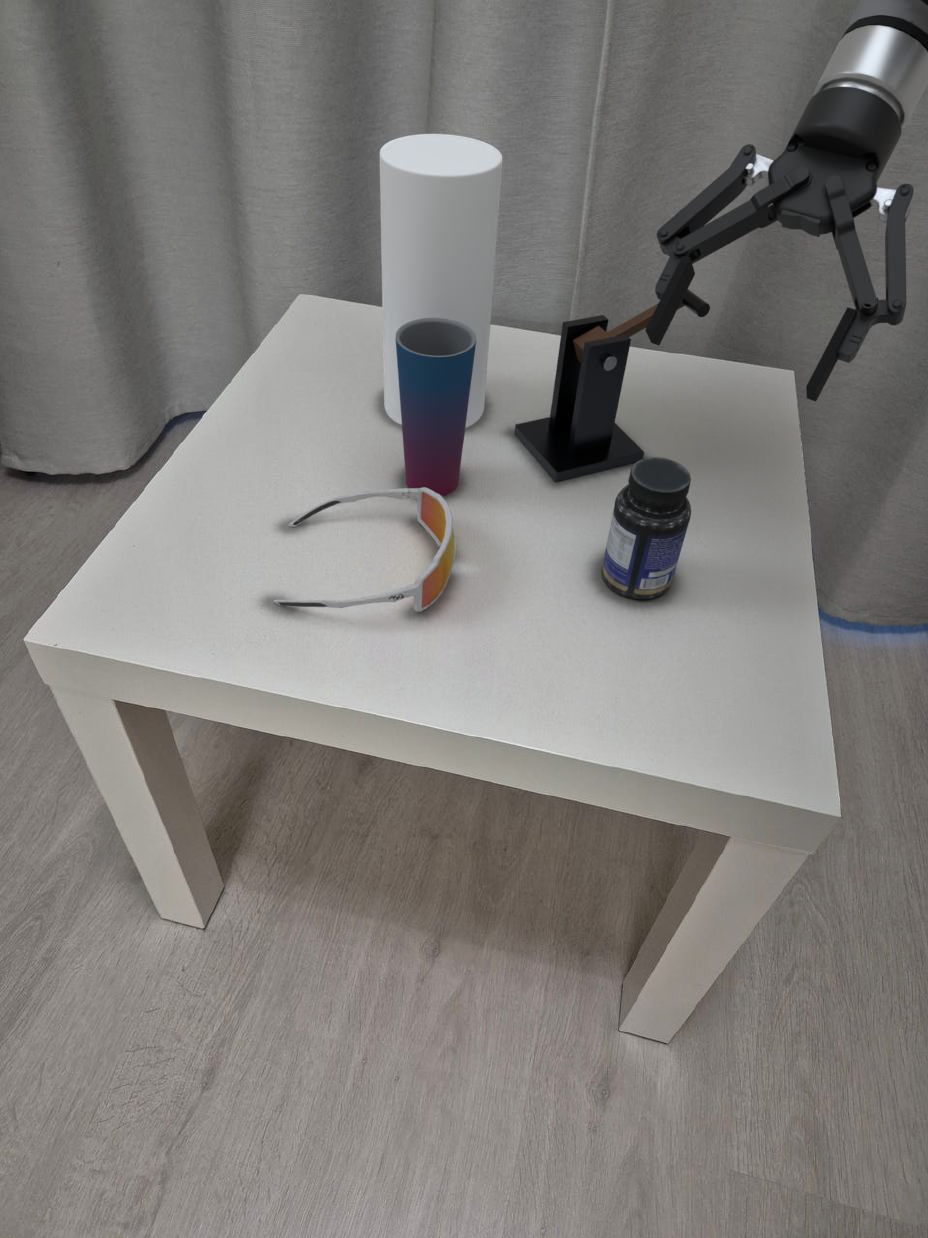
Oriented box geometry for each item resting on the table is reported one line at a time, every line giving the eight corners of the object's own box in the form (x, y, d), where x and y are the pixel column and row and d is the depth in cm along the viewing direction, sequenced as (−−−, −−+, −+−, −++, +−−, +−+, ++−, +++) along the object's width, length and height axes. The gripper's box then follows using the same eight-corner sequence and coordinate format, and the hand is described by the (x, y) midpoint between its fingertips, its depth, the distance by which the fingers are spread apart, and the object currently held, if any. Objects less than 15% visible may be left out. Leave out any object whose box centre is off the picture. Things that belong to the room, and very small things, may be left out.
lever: (674, 290, 85) (672, 268, 83) (711, 317, 81) (709, 296, 79) (567, 350, 84) (562, 330, 83) (599, 381, 81) (595, 360, 79)
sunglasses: (460, 625, 71) (454, 580, 67) (277, 639, 72) (261, 595, 68) (458, 514, 81) (452, 470, 77) (297, 528, 81) (284, 485, 78)
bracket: (597, 415, 94) (617, 300, 85) (642, 461, 88) (669, 344, 79) (513, 434, 91) (525, 316, 82) (555, 483, 85) (573, 363, 76)
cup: (389, 466, 86) (386, 321, 75) (455, 456, 87) (462, 313, 77) (406, 508, 81) (407, 360, 71) (476, 497, 83) (487, 351, 72)
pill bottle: (674, 563, 77) (704, 459, 70) (667, 609, 73) (698, 505, 65) (605, 548, 78) (628, 444, 71) (594, 593, 74) (616, 488, 66)
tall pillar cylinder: (363, 404, 93) (353, 149, 76) (432, 369, 99) (438, 125, 81) (436, 445, 88) (444, 184, 71) (504, 406, 94) (527, 155, 77)
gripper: (1016, 181, 67) (881, 435, 69) (713, 109, 76) (602, 334, 78) (1038, 119, 60) (888, 403, 62) (703, 49, 69) (581, 297, 71)
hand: (728, 365), depth 70 cm, fingers open, 13 cm apart
